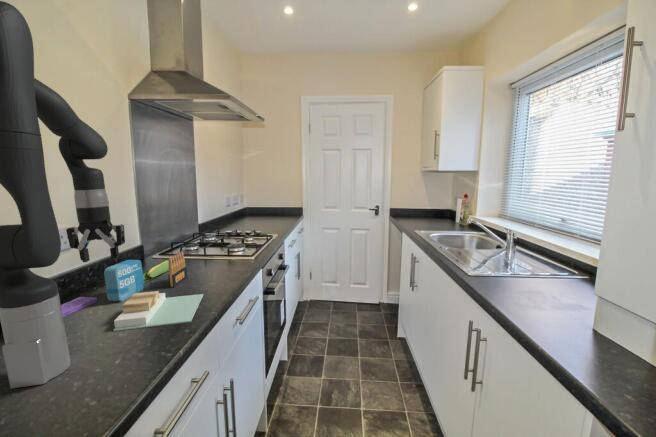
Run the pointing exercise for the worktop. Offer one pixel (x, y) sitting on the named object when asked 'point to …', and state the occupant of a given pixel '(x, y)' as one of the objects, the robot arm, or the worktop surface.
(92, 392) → the worktop surface
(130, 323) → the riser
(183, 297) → the mat
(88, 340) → the worktop surface
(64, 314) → the sponges
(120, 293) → the data package
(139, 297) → the coaster
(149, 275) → the edible corn
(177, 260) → the ammunition clip
